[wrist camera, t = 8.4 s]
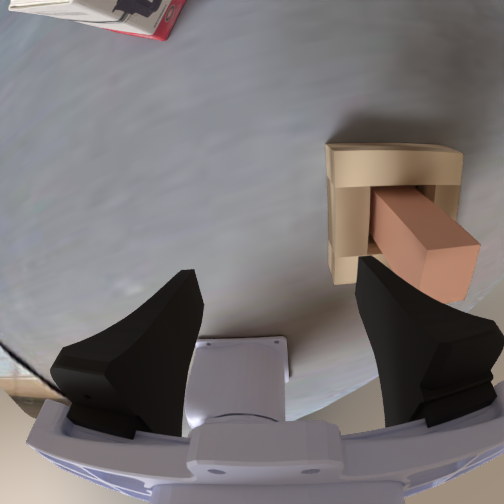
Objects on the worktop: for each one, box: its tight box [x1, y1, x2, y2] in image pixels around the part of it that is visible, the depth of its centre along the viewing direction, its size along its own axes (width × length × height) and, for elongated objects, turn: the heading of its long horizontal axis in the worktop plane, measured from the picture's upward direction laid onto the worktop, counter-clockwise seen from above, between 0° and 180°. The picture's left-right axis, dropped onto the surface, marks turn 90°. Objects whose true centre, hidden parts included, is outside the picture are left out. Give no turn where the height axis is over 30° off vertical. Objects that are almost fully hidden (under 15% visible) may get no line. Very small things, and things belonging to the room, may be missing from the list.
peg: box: [369, 185, 481, 304], centre depth 17 cm, size 4×4×10 cm
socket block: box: [325, 143, 463, 285], centre depth 20 cm, size 10×10×3 cm
